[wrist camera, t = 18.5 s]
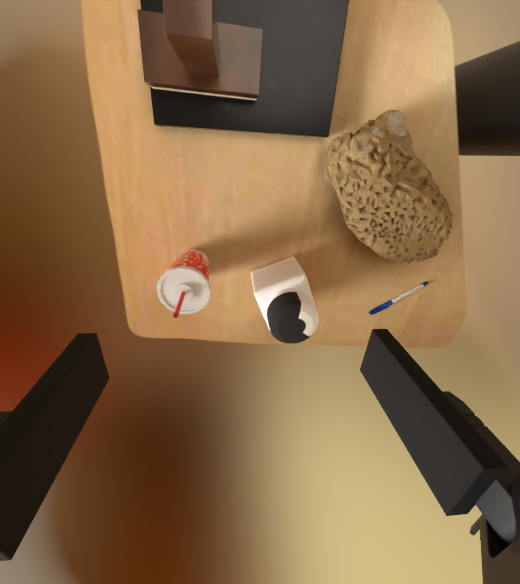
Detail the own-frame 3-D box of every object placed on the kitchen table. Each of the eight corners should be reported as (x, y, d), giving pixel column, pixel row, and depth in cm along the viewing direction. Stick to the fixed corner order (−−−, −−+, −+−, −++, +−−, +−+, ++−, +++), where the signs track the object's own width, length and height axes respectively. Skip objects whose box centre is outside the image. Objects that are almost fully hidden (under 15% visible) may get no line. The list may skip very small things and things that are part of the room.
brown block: (260, 40, 27) (280, -39, 16) (256, 100, 29) (272, 68, 18) (147, 24, 25) (81, -76, 14) (152, 88, 28) (100, 45, 17)
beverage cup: (212, 242, 37) (202, 286, 25) (216, 281, 40) (210, 337, 28) (168, 244, 37) (136, 290, 25) (175, 283, 40) (151, 342, 27)
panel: (344, 2, 27) (350, -6, 26) (324, 137, 33) (328, 136, 31) (141, -24, 25) (136, -34, 23) (157, 126, 30) (154, 124, 29)
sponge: (306, 158, 35) (362, 286, 40) (332, 136, 27) (396, 298, 32) (391, 111, 35) (435, 244, 40) (439, 77, 28) (485, 246, 33)
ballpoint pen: (370, 314, 46) (372, 317, 45) (368, 311, 46) (370, 314, 45) (426, 282, 44) (430, 285, 43) (424, 278, 44) (428, 281, 43)
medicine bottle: (265, 308, 43) (276, 358, 33) (249, 271, 40) (256, 313, 29) (306, 293, 43) (330, 339, 32) (294, 254, 39) (317, 292, 29)
